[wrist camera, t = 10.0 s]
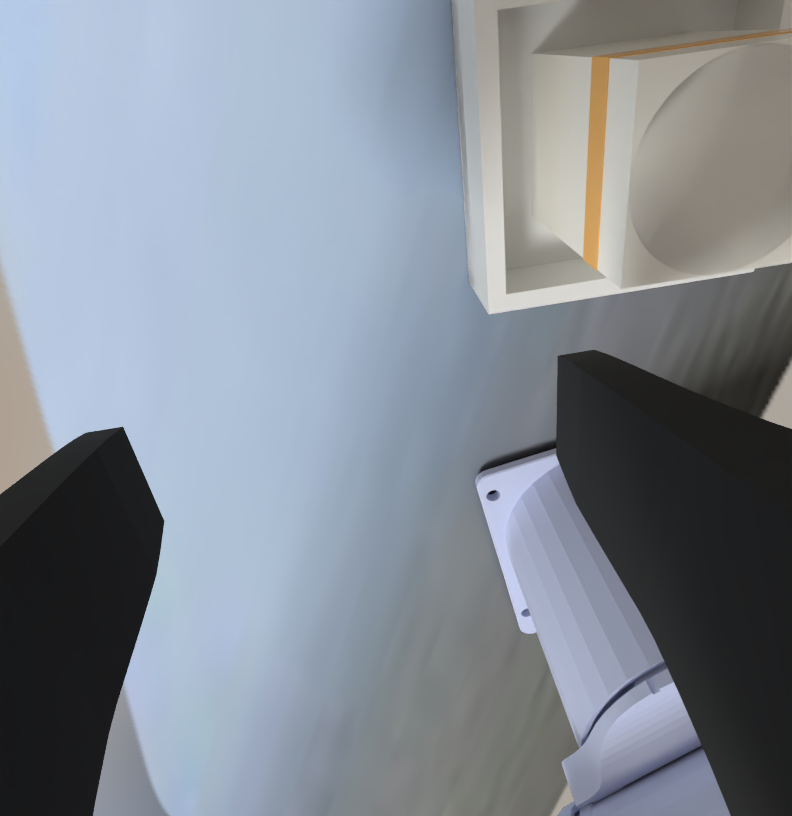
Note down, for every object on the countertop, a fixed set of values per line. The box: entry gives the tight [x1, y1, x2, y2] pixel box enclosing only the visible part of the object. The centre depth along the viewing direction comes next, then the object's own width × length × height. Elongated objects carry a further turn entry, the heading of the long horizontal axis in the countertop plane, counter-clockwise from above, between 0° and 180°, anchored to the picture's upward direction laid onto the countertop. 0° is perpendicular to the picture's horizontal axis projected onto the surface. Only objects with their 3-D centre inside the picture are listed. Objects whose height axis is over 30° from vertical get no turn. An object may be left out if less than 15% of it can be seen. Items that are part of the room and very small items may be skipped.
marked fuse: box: [532, 28, 792, 289], centre depth 14 cm, size 4×4×6 cm
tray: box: [451, 0, 792, 314], centre depth 16 cm, size 8×8×3 cm
